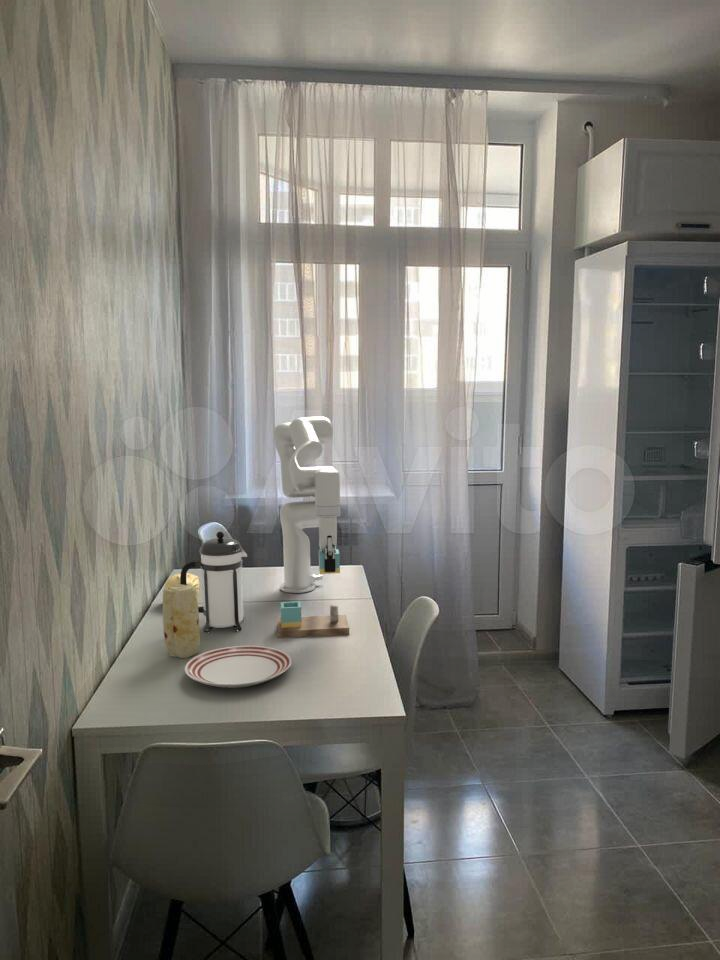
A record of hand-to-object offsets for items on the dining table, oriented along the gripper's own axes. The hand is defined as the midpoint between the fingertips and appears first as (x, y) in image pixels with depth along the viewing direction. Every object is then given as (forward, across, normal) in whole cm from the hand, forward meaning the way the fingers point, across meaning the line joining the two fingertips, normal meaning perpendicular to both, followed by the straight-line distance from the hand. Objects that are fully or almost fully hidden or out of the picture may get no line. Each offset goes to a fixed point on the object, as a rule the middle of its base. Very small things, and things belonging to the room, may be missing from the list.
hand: (329, 568), depth 227 cm
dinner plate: (+19, +32, -26) cm, 46 cm away
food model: (+19, +18, -42) cm, 49 cm away
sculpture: (+18, -30, -49) cm, 60 cm away
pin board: (+18, +2, -6) cm, 19 cm away
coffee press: (+18, -4, -34) cm, 39 cm away
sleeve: (+1, 0, 0) cm, 1 cm away
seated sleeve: (+16, +2, -12) cm, 20 cm away
